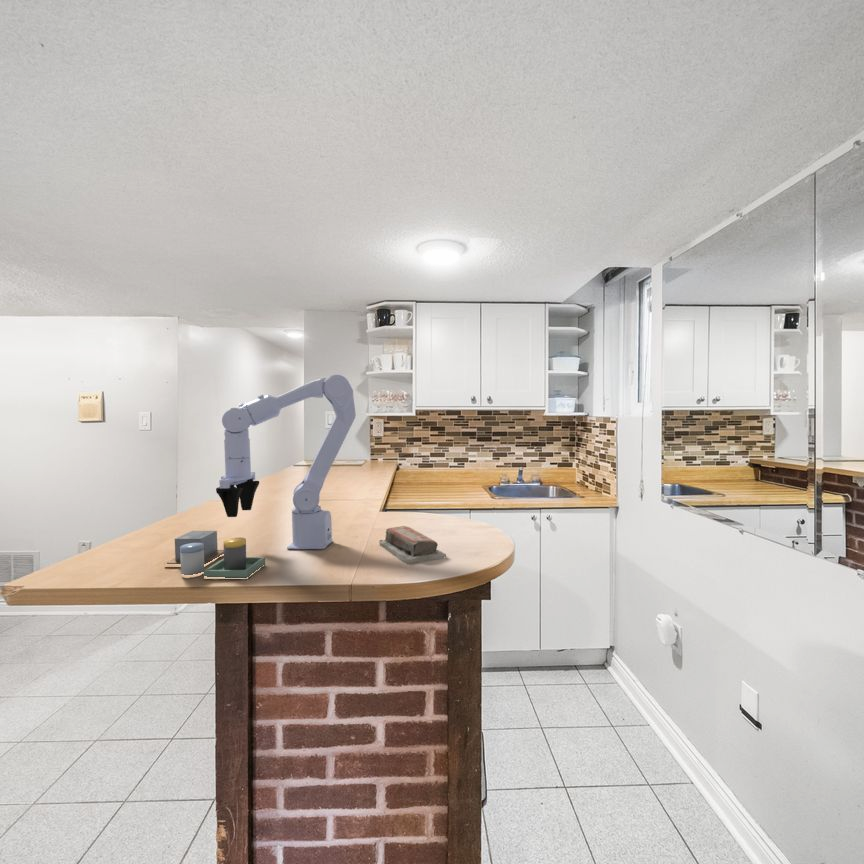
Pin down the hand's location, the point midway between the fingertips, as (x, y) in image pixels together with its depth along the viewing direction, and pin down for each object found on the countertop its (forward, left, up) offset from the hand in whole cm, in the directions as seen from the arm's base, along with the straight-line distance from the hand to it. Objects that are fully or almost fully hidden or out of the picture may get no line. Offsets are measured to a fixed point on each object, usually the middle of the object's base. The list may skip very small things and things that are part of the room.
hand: (239, 513), depth 113 cm
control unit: (+7, +7, -9) cm, 14 cm away
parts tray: (-6, +15, -9) cm, 19 cm away
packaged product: (-42, 0, -10) cm, 43 cm away
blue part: (+2, +17, -9) cm, 19 cm away
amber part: (-6, +15, -9) cm, 18 cm away
